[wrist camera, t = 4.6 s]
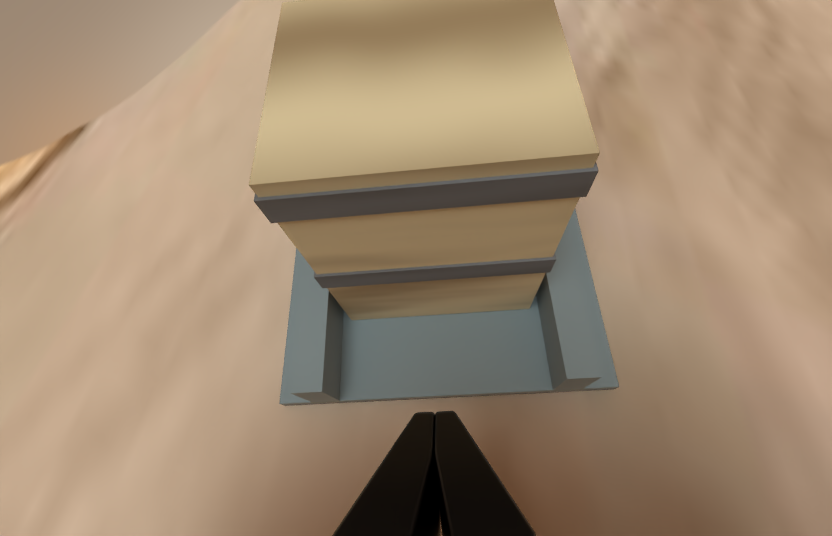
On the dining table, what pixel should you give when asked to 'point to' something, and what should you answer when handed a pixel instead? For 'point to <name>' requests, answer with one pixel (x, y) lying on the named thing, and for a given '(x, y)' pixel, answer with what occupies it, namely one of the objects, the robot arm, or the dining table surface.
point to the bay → (450, 343)
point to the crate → (423, 150)
